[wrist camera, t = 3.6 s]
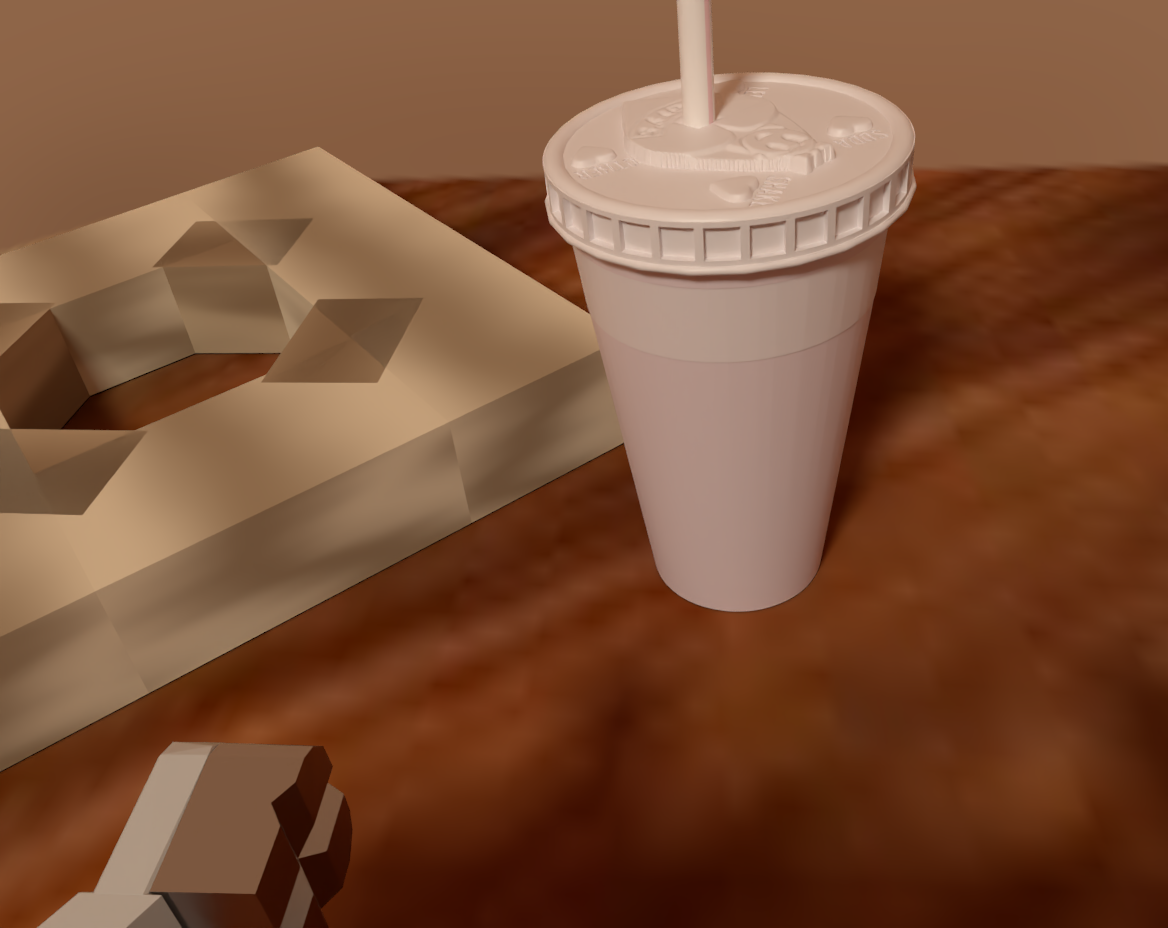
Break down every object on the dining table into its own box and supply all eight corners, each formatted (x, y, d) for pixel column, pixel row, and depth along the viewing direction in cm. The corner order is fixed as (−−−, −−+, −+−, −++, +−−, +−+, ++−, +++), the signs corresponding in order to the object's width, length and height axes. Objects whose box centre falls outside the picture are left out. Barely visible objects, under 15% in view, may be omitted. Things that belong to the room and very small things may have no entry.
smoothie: (720, 432, 28) (694, -196, 20) (943, 537, 24) (1033, -189, 16) (536, 566, 25) (411, -116, 16) (760, 712, 21) (748, -82, 13)
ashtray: (338, 224, 41) (317, 146, 39) (636, 436, 28) (626, 336, 27) (-195, 425, 33) (-252, 341, 32) (-103, 825, 21) (-187, 726, 19)
